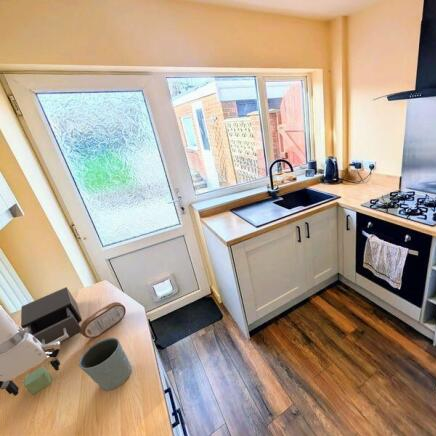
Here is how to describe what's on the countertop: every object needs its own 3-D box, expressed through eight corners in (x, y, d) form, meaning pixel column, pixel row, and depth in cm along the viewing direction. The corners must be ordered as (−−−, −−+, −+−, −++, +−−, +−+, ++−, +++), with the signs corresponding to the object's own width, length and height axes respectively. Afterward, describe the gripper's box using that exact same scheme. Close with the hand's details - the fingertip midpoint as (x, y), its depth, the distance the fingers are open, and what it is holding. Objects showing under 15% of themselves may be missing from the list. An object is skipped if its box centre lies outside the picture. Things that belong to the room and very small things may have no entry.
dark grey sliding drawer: (85, 339, 92) (75, 324, 88) (37, 366, 83) (24, 351, 80) (77, 313, 105) (68, 299, 102) (35, 334, 97) (24, 319, 93)
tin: (126, 312, 104) (118, 297, 100) (130, 315, 102) (122, 299, 98) (85, 340, 92) (74, 324, 89) (89, 344, 91) (78, 327, 87)
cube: (32, 395, 75) (24, 386, 73) (32, 385, 78) (24, 376, 76) (51, 383, 78) (43, 375, 76) (50, 374, 81) (43, 366, 79)
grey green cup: (139, 371, 79) (125, 345, 73) (105, 401, 71) (86, 375, 66) (125, 356, 84) (110, 332, 79) (91, 383, 77) (72, 358, 72)
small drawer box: (82, 320, 102) (70, 302, 98) (35, 344, 93) (20, 326, 89) (76, 303, 113) (66, 286, 109) (34, 323, 104) (21, 306, 99)
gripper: (44, 316, 78) (70, 352, 85) (-39, 356, 67) (-1, 393, 74) (45, 328, 73) (73, 366, 80) (-45, 373, 62) (-3, 412, 69)
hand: (38, 379), depth 77 cm, fingers open, 9 cm apart
